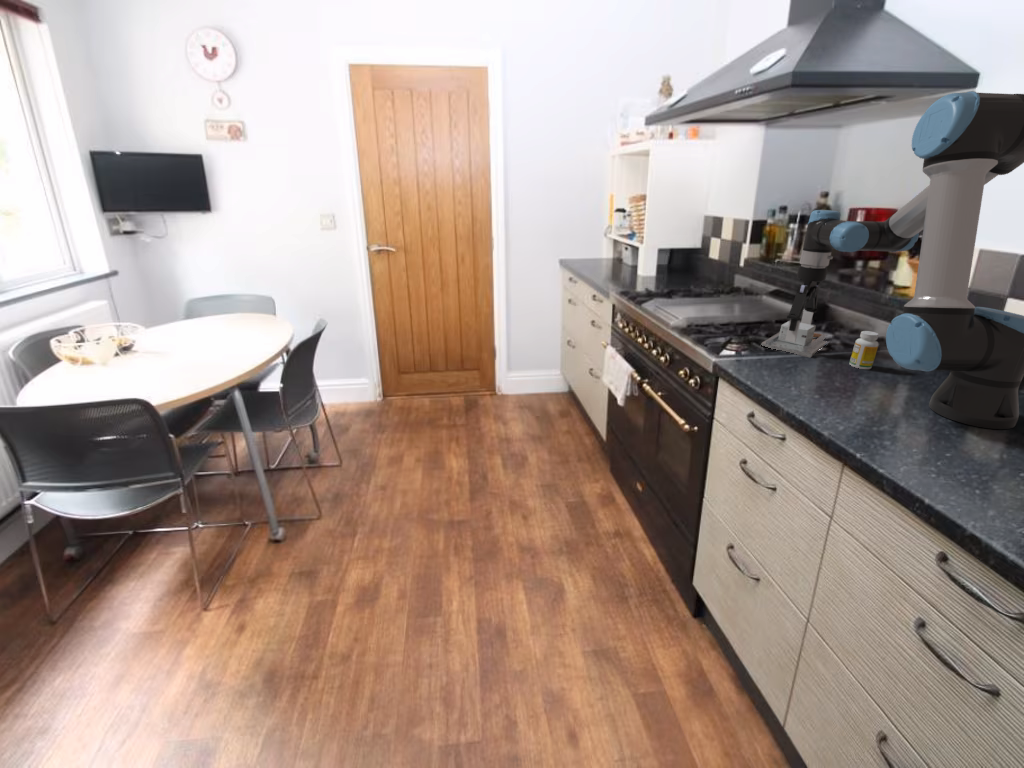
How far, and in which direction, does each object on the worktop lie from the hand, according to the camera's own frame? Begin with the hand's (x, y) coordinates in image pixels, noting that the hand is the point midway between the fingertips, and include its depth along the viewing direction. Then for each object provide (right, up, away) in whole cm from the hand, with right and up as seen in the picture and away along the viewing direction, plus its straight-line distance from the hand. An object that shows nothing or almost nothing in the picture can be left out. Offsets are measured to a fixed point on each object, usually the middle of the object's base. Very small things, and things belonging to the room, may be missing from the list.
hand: (797, 336), depth 164 cm
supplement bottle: (+9, -10, -16) cm, 21 cm away
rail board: (0, -3, +1) cm, 3 cm away
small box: (0, -1, +1) cm, 2 cm away
